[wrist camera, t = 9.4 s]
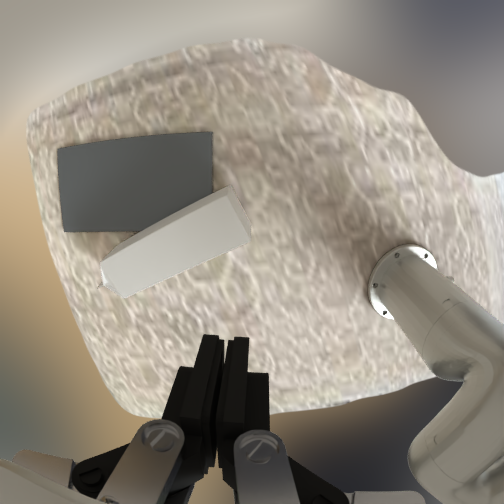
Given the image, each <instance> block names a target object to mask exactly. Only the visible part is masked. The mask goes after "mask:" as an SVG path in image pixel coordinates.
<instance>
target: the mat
mask: <svg viewBox="0 0 504 504" xmlns="http://www.w3.org/2000/svg"><path fill="white" fill-rule="evenodd" d="M58 176H59V190H60V201H61V211H62V219H63V227H64V232H105V231H142V230H144V229H146V228H148V227H150V226H151V225H153V224H155V223H157V222H159V221H161V220H162V219H164V218H166V217H168V216H170V215H172V214H174V213H175V212H177V211H179V210H181V209H183V208H185V207H187V206H189V205H191V204H193V203H195V202H197V201H199V200H200V199H202V198H204V197H206V196H208V195H210V194H212V132H196V133H177V134H163V135H151V136H141V137H131V138H123V139H115V140H107V141H100V142H94V143H88V144H82V145H76V146H70V147H65V148H60V149H58Z"/></svg>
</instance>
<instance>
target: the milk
mask: <svg viewBox="0 0 504 504" xmlns="http://www.w3.org/2000/svg"><path fill="white" fill-rule="evenodd" d="M250 241H251V223H250V221H249V219H248V217H247V215H246V213H245V211H244V209H243V207H242V205H241V203H240V201H239V199H238V197H237V195H236V193H235V191H234V189H233V187H232V186H231V185H229V186H227V187H225V188H223V189H220V190H218V191H216V192H214V193H212V194H210V195H208V196H206V197H204V198H202V199H200V200H199V201H197V202H195V203H193V204H191V205H189V206H187V207H185V208H183V209H181V210H179V211H177V212H175V213H174V214H172V215H170V216H168V217H166V218H164V219H162V220H161V221H159V222H157V223H155V224H153V225H151V226H150V227H148V228H146V229H144V230H142V231H141V232H139V233H137V234H135V235H134V236H132V237H130V238H128V239H127V240H125V241H123V242H121V243H120V244H118V245H117V246H116V247H115V248H114V249H113V250H112V251H111V252H110V253H109V254H108V255H107V256H106V257H105V258H104V259H103V260H102V261H101V262H100V269H101V276H102V282H101V284H100V285H99V286H98V287H97V289H98V288H100V287H102V286H105V287H106V288H108V289H109V290H111V291H112V292H114V293H116V294H117V295H119V296H120V297H122V298H124V299H125V298H127V297H129V296H131V295H133V294H136V293H138V292H140V291H142V290H144V289H147V288H149V287H151V286H153V285H155V284H158V283H160V282H162V281H164V280H166V279H169V278H171V277H173V276H175V275H177V274H180V273H182V272H184V271H186V270H189V269H191V268H193V267H195V266H197V265H200V264H202V263H204V262H206V261H209V260H211V259H213V258H215V257H217V256H220V255H222V254H224V253H226V252H229V251H231V250H233V249H235V248H238V247H240V246H242V245H244V244H247V243H249V242H250Z"/></svg>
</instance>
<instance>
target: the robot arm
mask: <svg viewBox="0 0 504 504" xmlns="http://www.w3.org/2000/svg"><path fill="white" fill-rule="evenodd" d="M395 253H396V254H395ZM368 296H369V300H370V303H371V305H372V306H373V308H374V309H375V311H376V312H377V313H378V314H379V315H381V316H382V317H385V318H387V319H394V320H395V321H396V322H397V324H398V325H399V326H400V328H401V329H402V331H403V332H404V333H405V335H406V336H407V337H408V339H409V340H410V342H411V343H412V345H413V346H414V347H415V349H416V350H417V352H418V353H419V355H420V356H421V358H422V359H423V360H424V362H425V363H426V365H427V366H428V368H429V369H430V370H431V372H432V373H434V374H435V375H436V376H438V377H439V378H441V379H445V380H449V381H464V383H463V385H462V387H461V388H460V389H459V390H458V392H457V393H456V394H455V395H454V397H453V399H451V401H450V402H449V403H448V404H447V405H446V406H445V407H444V408H443V409H442V410H441V411H440V412H439V414H437V416H436V417H435V418H434V419H433V420H432V421H431V422H430V423H429V424H428V425H427V426H426V427H425V428H424V429H423V430H422V431H421V432H420V433H419V434H418V435H417V436H416V438H415V439H414V440H413V442H412V444H411V446H410V448H409V451H408V463H409V467H410V470H411V472H412V473H413V475H414V477H415V478H416V480H417V481H418V482H419V483H420V484H421V485H422V487H423V488H425V489H426V490H427V491H428V492H429V493H430V494H432V495H433V496H434V497H435V498H437V499H438V500H440V501H441V502H442V503H443V504H504V324H503V323H501V322H500V321H499V320H498V319H496V318H495V317H494V316H493V315H492V314H490V313H489V312H488V311H487V310H486V309H484V308H483V307H482V306H481V305H480V304H479V303H477V302H476V301H475V300H474V299H473V298H471V297H470V296H469V295H468V294H467V293H465V292H464V291H463V290H462V289H460V288H459V287H458V286H457V285H455V284H454V278H453V277H452V276H447V277H445V276H444V275H443V274H442V273H440V272H439V271H438V270H437V264H436V261H435V259H434V257H433V256H432V254H431V253H430V252H429V251H427V250H426V249H425V248H423V247H421V246H419V245H415V244H405V245H401V246H398V247H396V248H394V249H392V250H391V251H389V252H388V253H386V254H385V255H384V256H383V257H382V258H381V259H380V260H379V262H378V263H377V264H376V266H375V268H374V269H373V271H372V274H371V276H370V279H369V284H368ZM248 353H249V337H234V340H228V346H227V352H226V358H225V364H224V340H221V339H219V336H218V335H207V334H204V335H203V338H202V341H201V344H200V348H199V351H198V354H197V358H196V361H195V365H194V368H193V367H184V366H180V367H179V370H178V372H177V375H176V378H175V381H174V384H173V387H172V390H171V392H170V395H169V398H168V401H167V404H166V407H165V410H164V413H163V416H162V419H159V420H152V421H149V422H147V423H145V424H143V425H142V426H141V427H140V428H139V430H138V431H137V433H136V434H135V436H134V438H133V439H132V441H131V443H129V444H126V445H124V446H121V447H119V448H116V449H114V450H111V451H109V452H106V453H103V454H100V455H98V456H95V457H92V458H89V459H87V460H84V461H82V462H80V463H78V462H74V461H73V459H68V458H61V457H57V456H53V455H48V454H43V453H39V452H36V451H31V450H21V451H19V452H18V453H16V454H15V456H14V457H13V459H12V462H10V461H7V460H4V459H1V458H0V504H188V502H189V499H190V496H191V494H192V491H193V489H194V485H195V482H197V481H199V480H200V479H202V478H203V477H204V474H208V468H209V467H214V465H215V459H216V451H218V463H219V468H222V472H223V480H224V481H225V482H226V483H227V484H228V485H229V486H230V487H232V488H233V492H234V501H235V504H425V500H424V498H423V497H422V496H421V494H419V493H417V492H415V491H394V492H357V491H356V492H354V493H343V492H342V491H341V490H339V489H338V488H336V487H334V486H333V485H331V484H329V483H328V482H326V481H325V480H323V479H321V478H320V477H318V476H317V475H315V474H314V473H312V472H311V471H309V470H308V469H306V468H305V467H303V466H302V465H300V464H299V463H297V462H296V461H294V460H293V459H292V458H290V457H288V456H287V452H286V449H285V445H284V443H283V441H282V439H281V438H280V437H279V436H277V435H276V434H274V433H272V432H270V415H269V374H268V373H254V372H247V371H248Z"/></svg>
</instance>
